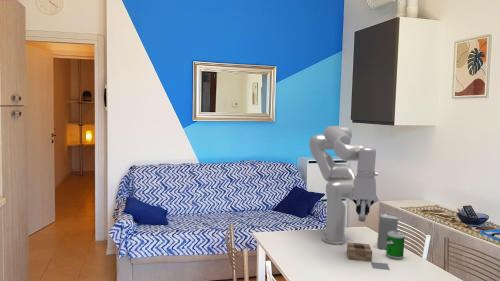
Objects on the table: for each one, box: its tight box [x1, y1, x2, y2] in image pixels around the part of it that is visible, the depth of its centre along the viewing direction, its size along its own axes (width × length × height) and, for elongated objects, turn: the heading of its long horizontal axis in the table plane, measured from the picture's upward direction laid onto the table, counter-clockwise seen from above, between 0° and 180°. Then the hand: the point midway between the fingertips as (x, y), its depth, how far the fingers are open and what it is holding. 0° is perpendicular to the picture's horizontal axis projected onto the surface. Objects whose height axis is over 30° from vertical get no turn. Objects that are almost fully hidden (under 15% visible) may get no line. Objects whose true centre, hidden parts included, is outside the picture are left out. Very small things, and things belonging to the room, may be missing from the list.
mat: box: [370, 261, 391, 271], centre depth 170 cm, size 7×7×1 cm
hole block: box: [346, 241, 373, 263], centre depth 180 cm, size 10×10×5 cm
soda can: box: [385, 230, 406, 260], centre depth 181 cm, size 8×8×12 cm
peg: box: [358, 199, 367, 223], centre depth 178 cm, size 3×3×10 cm
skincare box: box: [376, 213, 399, 250], centre depth 194 cm, size 8×7×16 cm
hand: (362, 213), depth 178 cm, fingers closed on peg, 3 cm apart
